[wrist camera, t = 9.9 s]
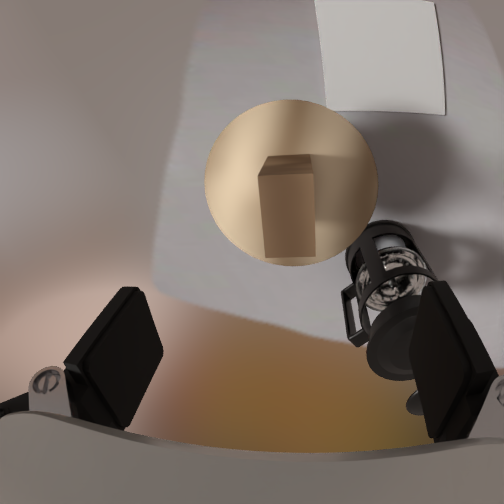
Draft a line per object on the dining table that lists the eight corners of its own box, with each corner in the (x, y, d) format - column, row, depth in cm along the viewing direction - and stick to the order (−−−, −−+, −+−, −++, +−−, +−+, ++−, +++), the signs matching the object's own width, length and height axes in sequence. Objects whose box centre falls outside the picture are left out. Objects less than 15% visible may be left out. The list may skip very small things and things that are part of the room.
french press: (393, 201, 35) (479, 328, 15) (430, 254, 38) (506, 389, 17) (319, 259, 40) (327, 415, 20) (361, 304, 43) (387, 453, 22)
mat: (432, 3, 23) (433, 2, 23) (443, 114, 30) (445, 115, 29) (313, -6, 26) (313, -7, 25) (326, 111, 32) (327, 111, 32)
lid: (373, 98, 20) (402, 100, 14) (371, 257, 26) (389, 308, 20) (198, 108, 23) (160, 115, 16) (220, 260, 28) (197, 310, 22)
